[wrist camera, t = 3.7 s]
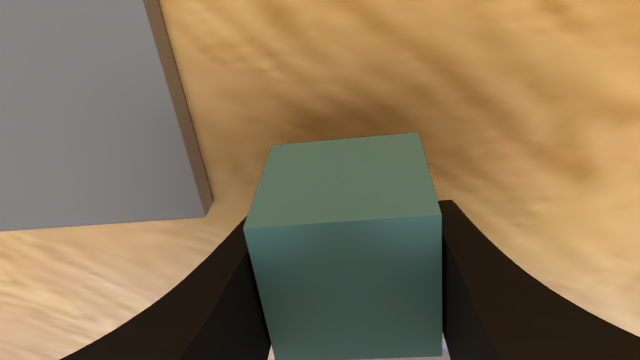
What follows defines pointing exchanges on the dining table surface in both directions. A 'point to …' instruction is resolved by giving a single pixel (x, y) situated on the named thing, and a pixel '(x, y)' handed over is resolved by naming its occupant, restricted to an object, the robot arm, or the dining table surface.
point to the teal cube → (348, 249)
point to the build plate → (93, 117)
